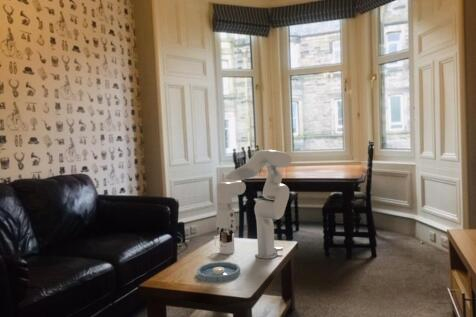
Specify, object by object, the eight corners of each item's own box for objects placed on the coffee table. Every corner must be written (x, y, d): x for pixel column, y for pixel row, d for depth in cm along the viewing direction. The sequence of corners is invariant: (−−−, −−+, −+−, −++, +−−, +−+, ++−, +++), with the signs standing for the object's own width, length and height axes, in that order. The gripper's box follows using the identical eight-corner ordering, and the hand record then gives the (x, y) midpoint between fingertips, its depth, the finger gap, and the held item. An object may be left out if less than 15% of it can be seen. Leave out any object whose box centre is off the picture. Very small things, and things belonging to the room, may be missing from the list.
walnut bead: (229, 240, 211) (228, 230, 211) (231, 242, 207) (230, 232, 206) (220, 241, 210) (220, 231, 209) (222, 243, 205) (222, 233, 205)
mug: (236, 250, 243) (235, 232, 242) (232, 255, 235) (231, 236, 234) (217, 249, 246) (216, 231, 246) (212, 254, 238) (211, 235, 237)
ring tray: (233, 264, 218) (233, 259, 218) (244, 278, 197) (244, 273, 197) (194, 270, 212) (194, 264, 212) (201, 284, 192) (201, 279, 192)
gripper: (241, 206, 204) (242, 242, 205) (218, 203, 216) (220, 237, 217) (231, 209, 198) (232, 245, 200) (208, 205, 210) (209, 240, 211)
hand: (226, 240), depth 208 cm, fingers closed on walnut bead, 4 cm apart
